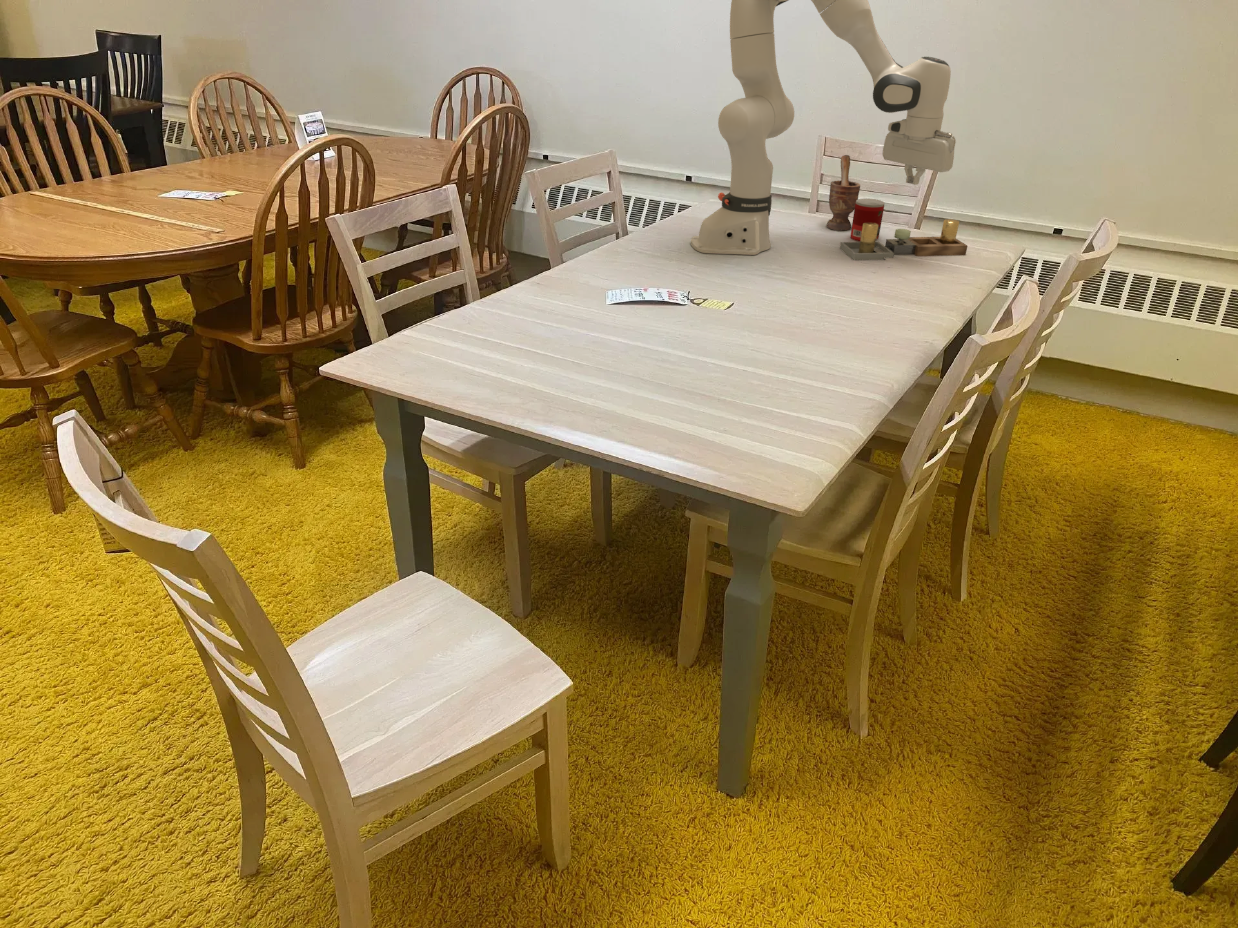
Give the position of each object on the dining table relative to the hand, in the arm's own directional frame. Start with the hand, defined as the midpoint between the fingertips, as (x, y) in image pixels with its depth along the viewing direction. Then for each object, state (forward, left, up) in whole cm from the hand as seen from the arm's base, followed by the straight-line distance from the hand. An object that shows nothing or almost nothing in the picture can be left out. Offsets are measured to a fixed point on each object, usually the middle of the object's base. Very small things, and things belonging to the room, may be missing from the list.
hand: (912, 183), depth 220 cm
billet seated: (+13, 0, -18) cm, 23 cm away
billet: (-9, 0, -19) cm, 21 cm away
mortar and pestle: (-7, +29, -19) cm, 36 cm away
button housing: (0, 0, -19) cm, 19 cm away
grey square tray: (-9, 0, -19) cm, 21 cm away
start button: (0, 0, -17) cm, 17 cm away
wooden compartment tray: (+10, 0, -19) cm, 22 cm away
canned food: (-4, +14, -19) cm, 25 cm away
